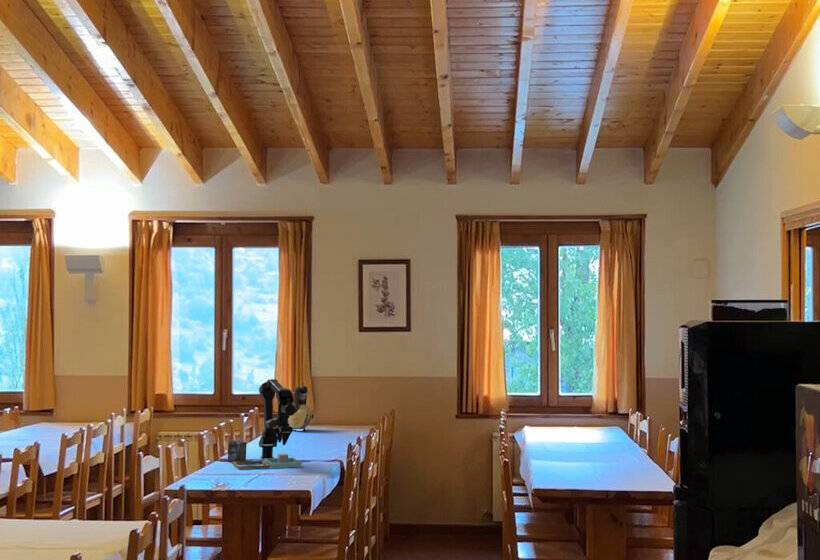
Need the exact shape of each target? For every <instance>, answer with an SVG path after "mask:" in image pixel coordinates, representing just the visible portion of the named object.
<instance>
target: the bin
mask: <svg viewBox="0 0 820 560" xmlns="http://www.w3.org/2000/svg"><path fill="white" fill-rule="evenodd" d="M263 461H264V462H265V463H267V464H268V465H270V467H271V468H270V467H269V468H270V469H291V468H290V467H298V468H302V463H303V462H301V461H300V460H298V459H296V458H295V457H288V463H277V457H274V458H266V459H263ZM288 467H289V468H288Z"/></svg>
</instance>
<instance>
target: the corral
mask: <svg viewBox="0 0 820 560" xmlns="http://www.w3.org/2000/svg"><path fill="white" fill-rule="evenodd" d="M231 463H232V464H233V465H232V466H234V468H236V469H237V470H253V469H252V468H268V469H270V465H268V464H267V463H265V462H264V460H246V461H232V462H231ZM251 463H262V464H263V465H262V464H258V465H252V464H251Z"/></svg>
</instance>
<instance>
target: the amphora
mask: <svg viewBox="0 0 820 560" xmlns="http://www.w3.org/2000/svg"><path fill="white" fill-rule="evenodd" d="M308 391H309V390H308V387H307V386H306V385H303V386H301V387H300V386H296V388H295V389H294V391H293V392H292V391H291V392H292V395H293V398H294V404H293V405H294V406H295V409H296V412H295V413H294V415H292V416H290V418H288V424H289V426H291V427H292V428H293V429H305V430H306V428H307V427H308V426H309V424H310V423H311V421H312V418H313V410H312V409H311V408H310V407H309V406H308V405H307V399H308V395H309V394H310V392H308Z"/></svg>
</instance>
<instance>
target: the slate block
mask: <svg viewBox="0 0 820 560" xmlns="http://www.w3.org/2000/svg"><path fill="white" fill-rule="evenodd" d="M276 458H277V463H288V458H289V454H287V453H277V457H276Z"/></svg>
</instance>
